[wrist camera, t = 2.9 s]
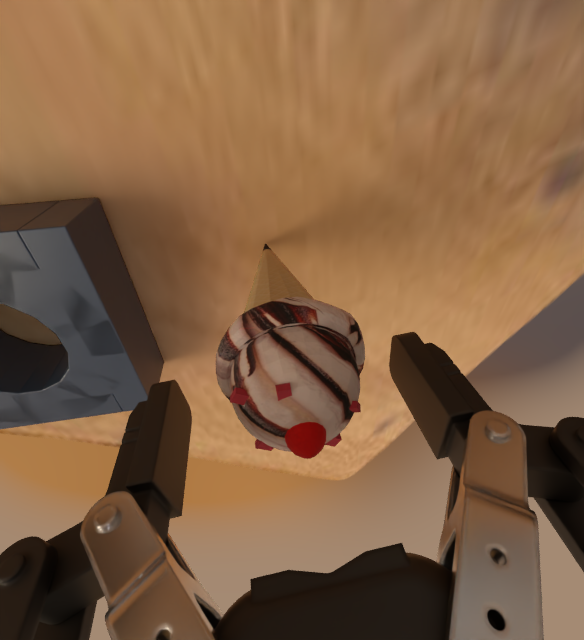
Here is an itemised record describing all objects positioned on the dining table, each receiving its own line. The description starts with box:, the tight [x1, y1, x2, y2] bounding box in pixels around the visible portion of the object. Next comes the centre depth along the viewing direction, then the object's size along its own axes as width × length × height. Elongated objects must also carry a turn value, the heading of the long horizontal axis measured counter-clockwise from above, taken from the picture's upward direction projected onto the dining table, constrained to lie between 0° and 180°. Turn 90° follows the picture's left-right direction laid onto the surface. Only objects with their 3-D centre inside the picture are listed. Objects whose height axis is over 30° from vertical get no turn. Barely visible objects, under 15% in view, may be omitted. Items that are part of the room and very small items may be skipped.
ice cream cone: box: [216, 244, 365, 459], centre depth 15 cm, size 6×6×15 cm
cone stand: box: [0, 198, 164, 429], centre depth 19 cm, size 13×13×4 cm
